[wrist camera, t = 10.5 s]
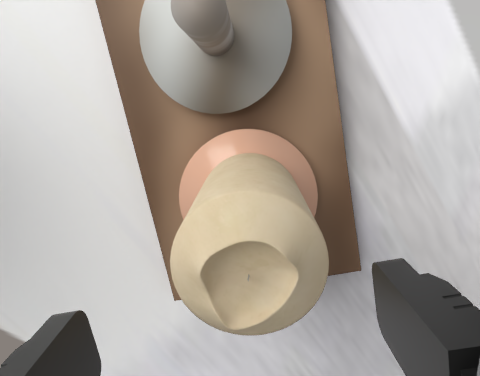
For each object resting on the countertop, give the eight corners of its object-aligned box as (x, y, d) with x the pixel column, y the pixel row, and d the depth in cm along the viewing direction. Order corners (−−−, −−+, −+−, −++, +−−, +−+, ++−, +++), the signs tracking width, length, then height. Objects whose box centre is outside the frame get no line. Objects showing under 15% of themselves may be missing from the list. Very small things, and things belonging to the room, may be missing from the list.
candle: (270, 258, 22) (285, 390, 12) (186, 219, 21) (132, 322, 12) (315, 178, 20) (373, 252, 11) (227, 134, 20) (204, 170, 10)
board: (178, 291, 25) (143, 378, 17) (95, -29, 20) (-4, -111, 12) (355, 262, 24) (406, 340, 16) (309, -80, 19) (346, -204, 11)
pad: (197, 267, 23) (195, 273, 22) (167, 142, 21) (164, 144, 20) (324, 246, 22) (326, 251, 21) (304, 115, 20) (306, 116, 20)
